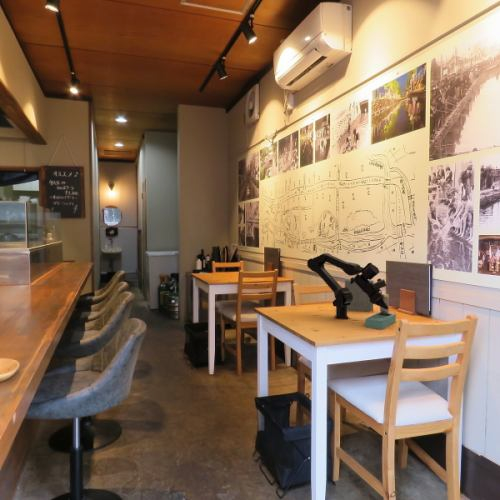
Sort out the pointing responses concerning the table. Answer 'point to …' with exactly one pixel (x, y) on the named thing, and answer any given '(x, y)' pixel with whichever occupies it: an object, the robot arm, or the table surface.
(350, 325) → the table surface
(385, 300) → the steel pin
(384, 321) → the bar
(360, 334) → the table surface
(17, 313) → the table surface
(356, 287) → the dark grey upright panel
